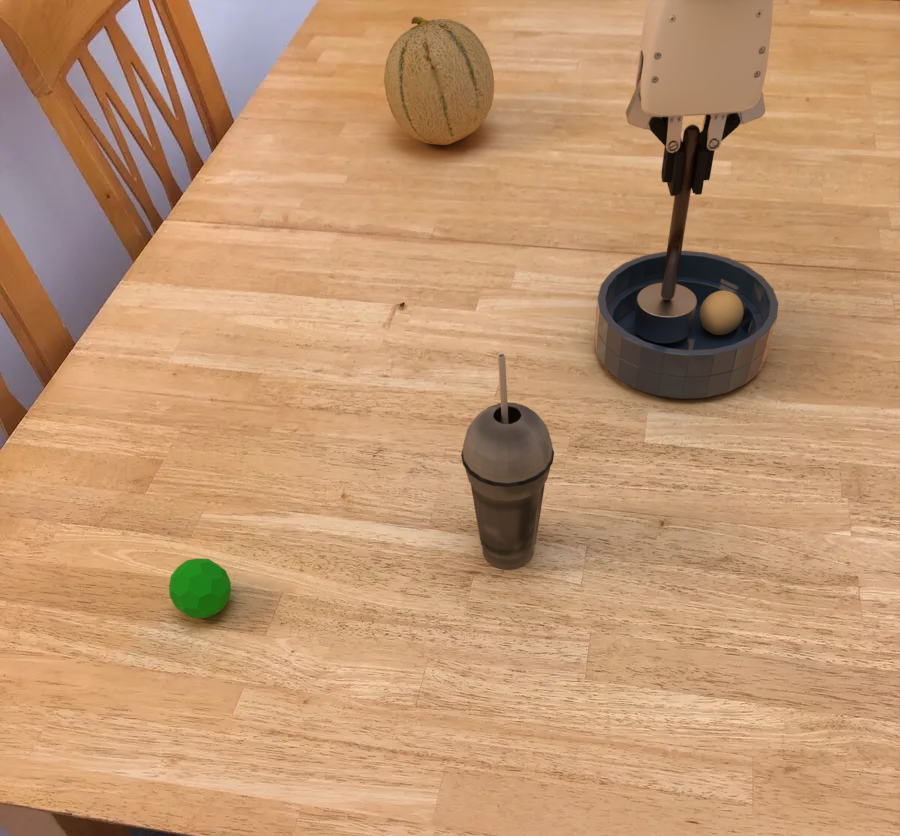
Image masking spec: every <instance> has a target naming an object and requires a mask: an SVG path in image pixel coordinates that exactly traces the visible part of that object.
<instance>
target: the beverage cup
mask: <svg viewBox="0 0 900 836" xmlns="http://www.w3.org/2000/svg"><path fill="white" fill-rule="evenodd" d="M497 358H498V359H497V360H498V376H499V378H498V379H499V396H500V398H499V399H500V403H496V404H493V405H490V406H488V407H485V409H483V410H482V411H480V412H479V413H478V414H477V415H476V416H475V417H474V419H473V420H472V421H471V422H470V424H469V425H468V427H467V430H466V433H465V435H464V436H465V437H464V440H463V444H462V450H461V453H460V457H461V462H462V466H463V467H464V469H465V473H466V476H467V479H468V482H469V483H470V488H471V493H472V500H473V506H474V511H475V517H476V524H477V529H478V536H479V541H480V546H481V547H482V555H483V558H484V559H485V560H486V562H487V563H488V564H490V565H491V566H492V567H494V568H497V569H500V570H507V571H508V570H509V571H510V570H517V569H519V568H521V567H524V566H526V565H527V564H528V563H529V562H530V561H531V559H532V558H533V557H534V553H535V552H534V551H535V547H536V543H537V538H538V531H539V526H540V525H539V524H540V519H541V513H542V505H543V499H544V493H545V486H546V483H547V480H548V478H549V475H550V470H551V467H552V465H553V464H554V457H555V451H554V447H553V442H552V439H551V435H550V432H549V428H548V427H547V424H546V423H545V422H544V421H543V419H542V418H541V417H540V415H539V414H538V413H537V412H536V411H534V410H533V409H531V408H529V407H528V406H526V405H523V404H520V403H517V402H508V388H507V387H508V385H507V367H506V354H505V353H499V354H498V355H497Z"/></svg>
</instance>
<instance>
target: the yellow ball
mask: <svg viewBox="0 0 900 836" xmlns="http://www.w3.org/2000/svg"><path fill="white" fill-rule="evenodd" d="M743 314H744V308H743V304H742V302H741V300H740V298H739V297H738V296H737V295H735V294H734V293H732V292H729V291H717V292H715V293H712V294H711V295H709V296H708V297H707V298H706V299H705V300H704V302H703V303H702V305H701V308H700V314H699V316H700V321H701V324H702V326H703V327H704V328H705V329H706V330H707V331H708V332H710V333H712V334H715V335H725V334H728V333H730V332H732V331H733V330H735V329H736V328H737V327H738V326H739V324H740V323H741V321H742V318H743Z"/></svg>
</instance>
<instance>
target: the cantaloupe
mask: <svg viewBox="0 0 900 836" xmlns="http://www.w3.org/2000/svg"><path fill="white" fill-rule="evenodd" d="M410 22H411V25H412V24H413V25H414V24H416V25H415V26H412V27H410V29H408V30H406V31H405V32H404V33H402V34H401V35H400V36H399V37H398V38H397V39H396V41H395V42H394V43H393V44H392V47H391V48H390V50H389V52H388V55H387V58H386V61H385V66H384V73H383V76H384V77H383V83H384V89H385V90H384V91H385V96H386V100H387V103H388V107H389V109H390V112H391V113H392V116H393V118H394V119H395V121H396V123H397V124H398V125H399V126H400V128H401V129H402V130H403V131H404V132H405V133H407V134H408V135H409V136H410V137H411V138H413V139H415V140H417V141H419V142H422V143H424V144H428V143H429V144H430V145H440V146H448V145H451V144H453V143H456V142H458V141H460V140H462V139H464V138H466V137H467V136H469V135H471V134H472V133H474V132H475V131H476V130H478V129H479V128H480V127H481V126H482V124H483V123H484V121H485V120H486V118H487V117H488V115H489V113H490V111H491V108H492V105H493V100H494V95H495V76H494V69H493V66H492V62H491V59H490V56H489V54H488V51H487V49H486V47H485V46H484V43H483V42H482V41H481V39H480V38H479V37H478V36H477V34H476V33H475V32H473V30H471V28H470V27H468V26H467V25H465V24H463V23H461V22H459V21H457V20H453V19H448V18H444V19H443V18H439V19H431V20H427V19H424V18H423V17H422V16H413V17H412V18H411V21H410Z"/></svg>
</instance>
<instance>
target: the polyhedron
mask: <svg viewBox="0 0 900 836" xmlns="http://www.w3.org/2000/svg"><path fill="white" fill-rule="evenodd" d="M230 579H231V578H230V577H229V575H228V573H227V571H226V569H225V568H223V567H222V566H220V565H219V564H218V563H216V562H214V561H213V560H211V559H209V558H197V557H195V558H193V559H187V560H185V561H184V562H183V563H181V564H180V565H179V566H177V567H176V569H175V570H174V571H173V573H172V574H171V575H170V580H169V585H168V591H169V594H168V595H169V597H170V599H171V602H172V604H173V606H174V607H175V608H176V609H177V610H179V611H180V612H181V613H183V614H185V615H186V616H188V617H190V618H192V619H193V618H195V619H204V618H205V619H206V618H209V617H212V616H215V615H216V614H218V613H219V612H221V611H222V610H224V608H225V606H226V605H227V603H228V602H229V600H230V597H231V592H232V585H231V580H230Z"/></svg>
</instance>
